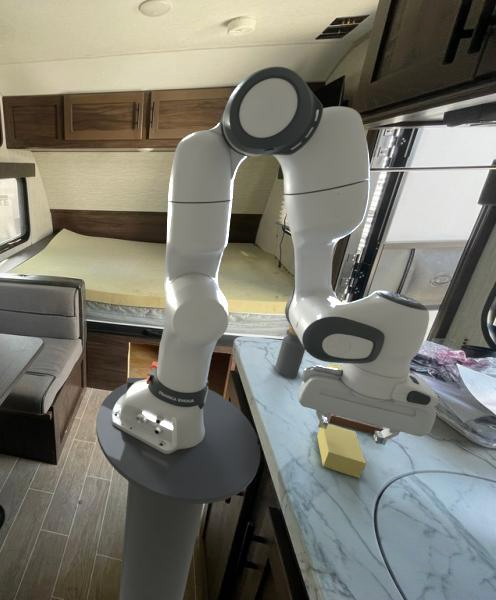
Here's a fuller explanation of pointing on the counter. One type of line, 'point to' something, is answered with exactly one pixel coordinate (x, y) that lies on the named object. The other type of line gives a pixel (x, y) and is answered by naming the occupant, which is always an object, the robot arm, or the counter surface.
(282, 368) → the bottle
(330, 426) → the foam pad
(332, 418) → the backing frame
